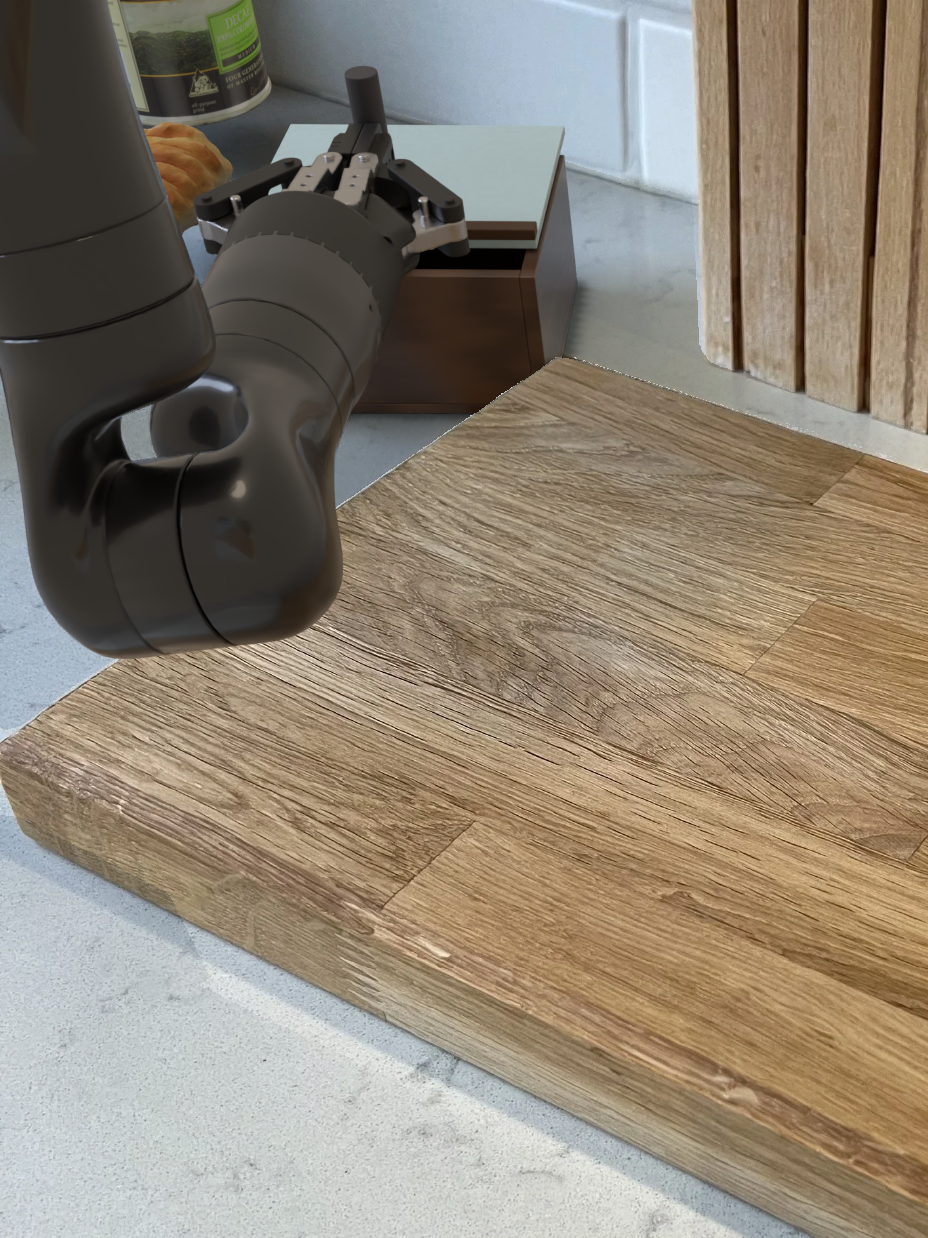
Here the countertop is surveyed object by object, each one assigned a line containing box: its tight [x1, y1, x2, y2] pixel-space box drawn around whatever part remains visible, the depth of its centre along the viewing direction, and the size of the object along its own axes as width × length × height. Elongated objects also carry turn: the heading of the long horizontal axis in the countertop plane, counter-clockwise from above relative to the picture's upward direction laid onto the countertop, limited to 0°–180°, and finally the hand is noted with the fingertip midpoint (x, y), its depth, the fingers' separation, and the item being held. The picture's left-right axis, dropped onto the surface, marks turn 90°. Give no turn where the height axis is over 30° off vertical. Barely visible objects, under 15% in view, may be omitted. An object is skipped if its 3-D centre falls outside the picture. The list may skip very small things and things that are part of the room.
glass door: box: [268, 65, 566, 249], centre depth 92 cm, size 16×14×8 cm
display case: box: [350, 154, 578, 414], centre depth 96 cm, size 16×14×8 cm
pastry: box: [143, 122, 234, 236], centre depth 100 cm, size 9×7×4 cm
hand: (368, 141), depth 87 cm, fingers closed
